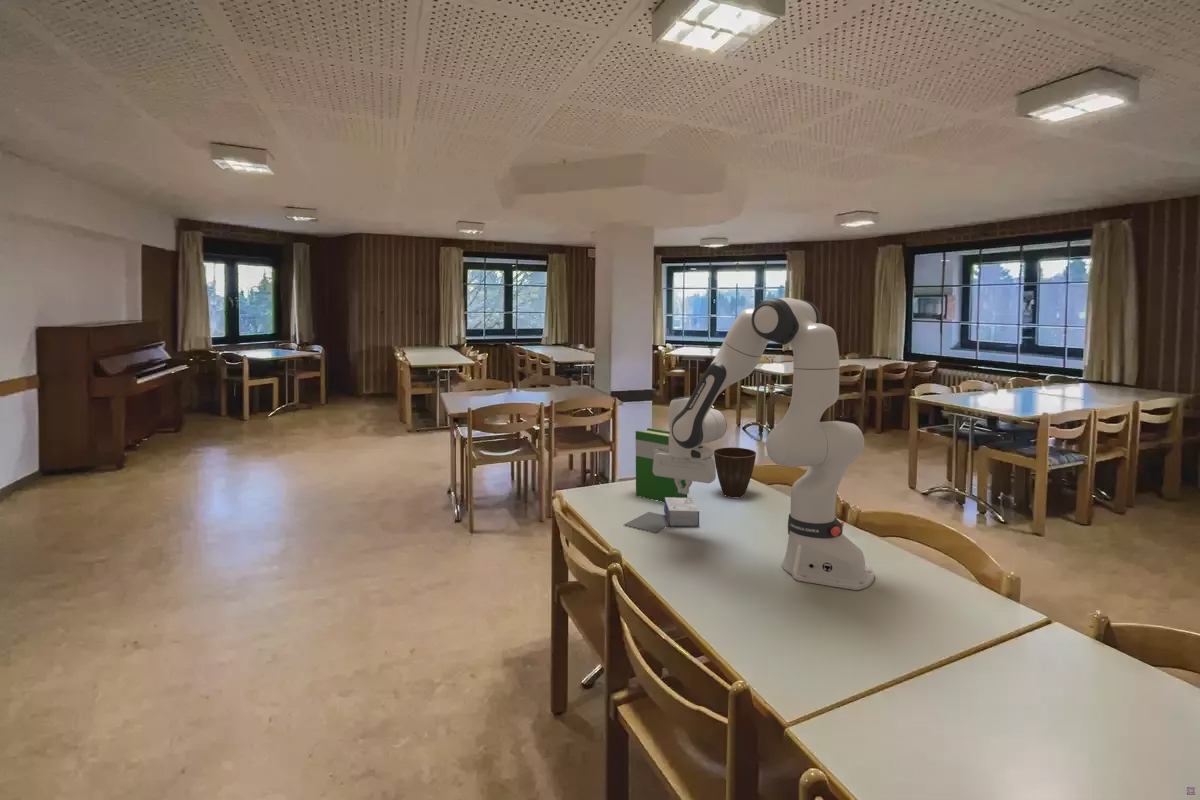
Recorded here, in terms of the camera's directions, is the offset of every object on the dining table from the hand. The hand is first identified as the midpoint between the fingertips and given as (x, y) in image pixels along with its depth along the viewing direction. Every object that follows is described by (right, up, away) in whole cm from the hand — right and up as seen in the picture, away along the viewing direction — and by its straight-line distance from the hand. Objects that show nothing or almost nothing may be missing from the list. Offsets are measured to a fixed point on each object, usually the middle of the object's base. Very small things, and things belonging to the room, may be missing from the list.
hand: (683, 493), depth 196 cm
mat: (-9, -11, +9) cm, 16 cm away
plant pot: (+23, -6, +37) cm, 44 cm away
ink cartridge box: (+1, -9, +4) cm, 10 cm away
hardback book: (-4, -7, +34) cm, 35 cm away
